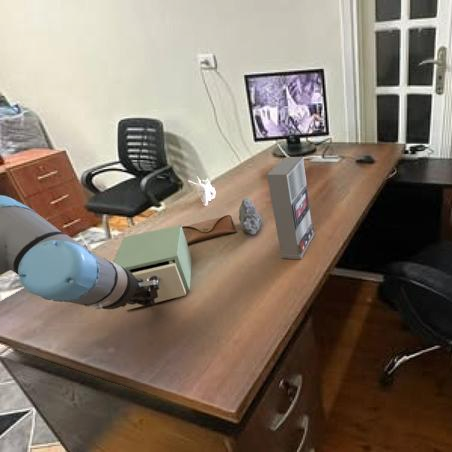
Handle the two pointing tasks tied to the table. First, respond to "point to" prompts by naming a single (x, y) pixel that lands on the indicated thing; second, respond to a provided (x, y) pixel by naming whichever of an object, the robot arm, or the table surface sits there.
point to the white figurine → (204, 191)
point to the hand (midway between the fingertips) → (150, 299)
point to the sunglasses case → (209, 229)
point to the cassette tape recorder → (291, 207)
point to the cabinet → (157, 251)
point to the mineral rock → (249, 217)
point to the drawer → (163, 282)
